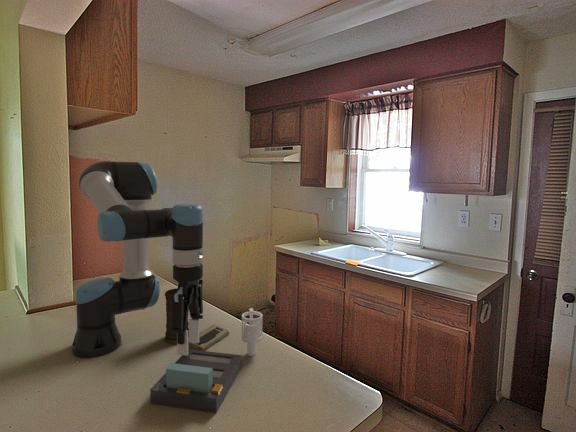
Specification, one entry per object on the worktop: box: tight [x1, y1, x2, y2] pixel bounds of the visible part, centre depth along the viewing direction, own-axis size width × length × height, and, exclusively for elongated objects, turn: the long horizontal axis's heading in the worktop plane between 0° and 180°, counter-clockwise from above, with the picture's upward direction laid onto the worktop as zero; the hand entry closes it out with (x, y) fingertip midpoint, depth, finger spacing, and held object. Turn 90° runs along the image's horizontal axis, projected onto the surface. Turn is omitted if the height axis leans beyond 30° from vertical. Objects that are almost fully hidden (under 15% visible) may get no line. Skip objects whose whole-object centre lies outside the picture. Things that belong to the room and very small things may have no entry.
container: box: [164, 288, 189, 345], centre depth 129 cm, size 9×9×18 cm
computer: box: [188, 324, 230, 351], centre depth 129 cm, size 16×8×3 cm, turn 154°
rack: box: [149, 348, 243, 414], centre depth 102 cm, size 18×22×5 cm
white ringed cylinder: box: [241, 307, 264, 357], centre depth 120 cm, size 7×7×15 cm
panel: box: [165, 362, 213, 394], centre depth 95 cm, size 12×3×8 cm, turn 80°
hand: (188, 347), depth 93 cm, fingers open, 6 cm apart
